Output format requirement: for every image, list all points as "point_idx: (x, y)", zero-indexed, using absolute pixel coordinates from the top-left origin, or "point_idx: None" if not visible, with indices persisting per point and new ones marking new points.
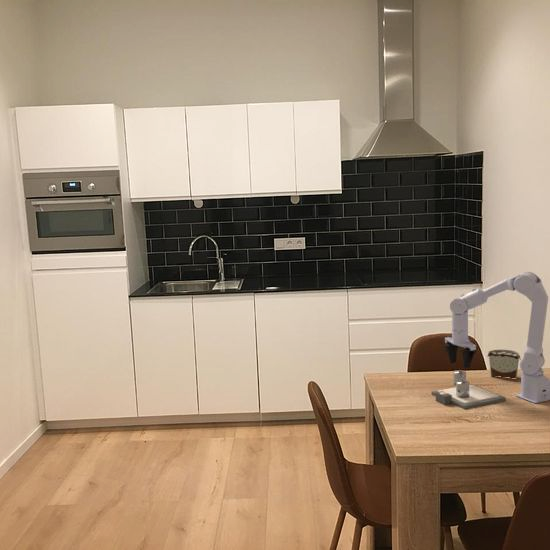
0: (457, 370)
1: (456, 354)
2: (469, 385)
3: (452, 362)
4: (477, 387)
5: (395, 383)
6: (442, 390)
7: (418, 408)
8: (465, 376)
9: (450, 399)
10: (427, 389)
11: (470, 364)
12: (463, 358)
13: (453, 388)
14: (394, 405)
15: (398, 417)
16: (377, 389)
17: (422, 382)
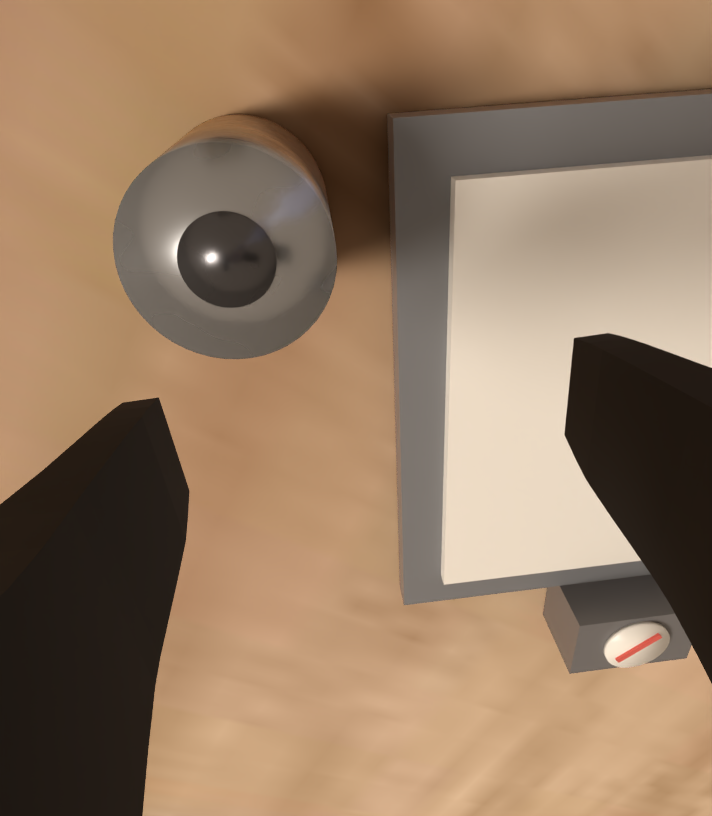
0: (132, 249)
1: (84, 489)
2: (485, 226)
3: (180, 480)
4: (610, 180)
5: None
6: (463, 551)
7: (588, 725)
8: (317, 185)
9: None
10: (268, 565)
11: (653, 350)
12: (683, 618)
13: (472, 446)
14: (466, 792)
15: (623, 811)
16: None
17: None
